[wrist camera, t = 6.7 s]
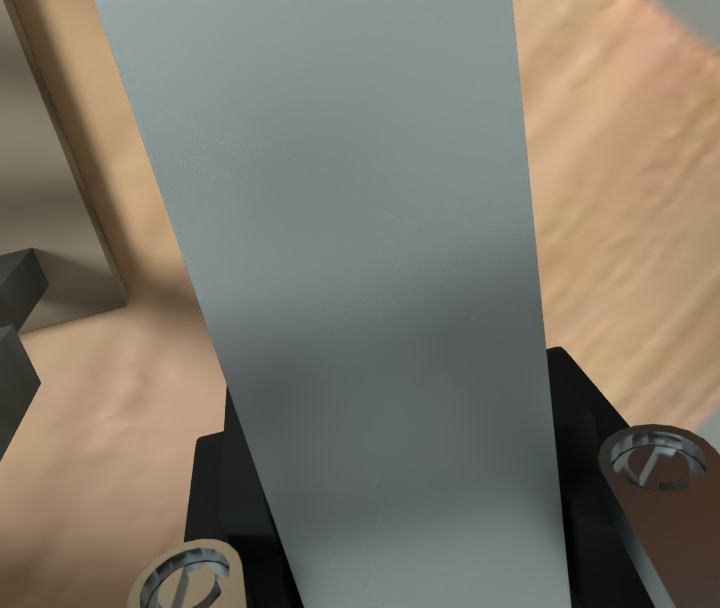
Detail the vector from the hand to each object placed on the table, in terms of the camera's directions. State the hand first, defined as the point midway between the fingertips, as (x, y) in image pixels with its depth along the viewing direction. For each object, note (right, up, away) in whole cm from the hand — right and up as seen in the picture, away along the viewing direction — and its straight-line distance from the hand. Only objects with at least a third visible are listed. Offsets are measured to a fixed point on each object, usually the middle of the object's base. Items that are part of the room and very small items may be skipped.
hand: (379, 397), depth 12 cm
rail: (0, 0, -1) cm, 1 cm away
